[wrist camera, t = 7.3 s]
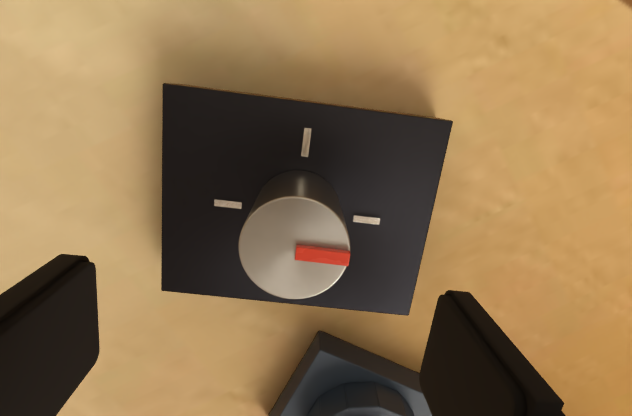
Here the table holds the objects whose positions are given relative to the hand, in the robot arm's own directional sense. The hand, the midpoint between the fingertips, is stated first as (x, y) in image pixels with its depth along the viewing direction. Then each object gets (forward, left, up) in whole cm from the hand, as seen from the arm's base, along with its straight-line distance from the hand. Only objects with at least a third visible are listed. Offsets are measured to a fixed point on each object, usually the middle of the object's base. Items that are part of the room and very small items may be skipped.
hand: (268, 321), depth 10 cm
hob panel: (+1, 0, -12) cm, 12 cm away
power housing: (+8, -13, -12) cm, 20 cm away
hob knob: (+1, 0, -10) cm, 10 cm away
